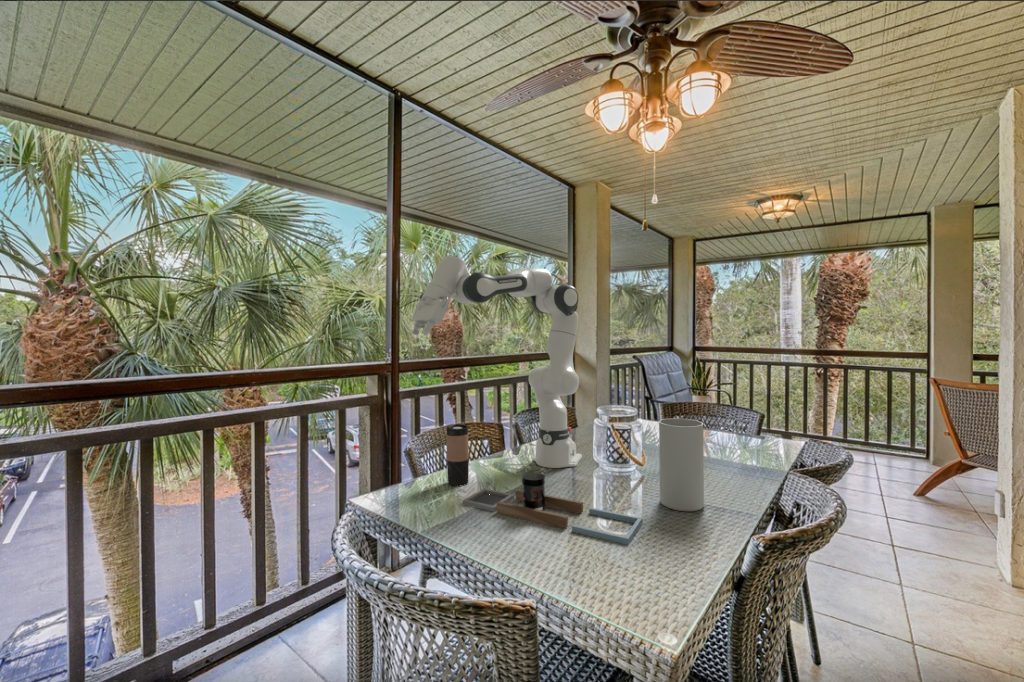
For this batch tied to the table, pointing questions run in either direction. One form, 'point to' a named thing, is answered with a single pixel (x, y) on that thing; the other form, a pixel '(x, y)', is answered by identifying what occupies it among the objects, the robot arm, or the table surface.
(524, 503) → the supplement container
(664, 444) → the cylinder vase
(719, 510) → the table surface
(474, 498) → the tray
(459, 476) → the travel mug
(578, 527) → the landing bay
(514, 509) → the channel
